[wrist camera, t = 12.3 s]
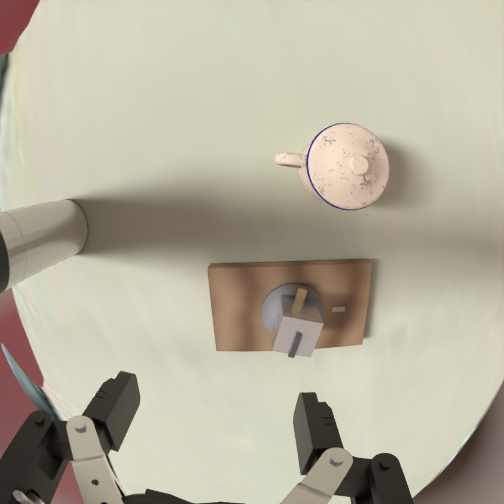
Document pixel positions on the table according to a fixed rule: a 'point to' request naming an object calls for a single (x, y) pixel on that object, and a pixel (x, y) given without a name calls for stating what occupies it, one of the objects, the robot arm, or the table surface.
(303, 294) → the white block
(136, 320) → the table surface
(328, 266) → the walnut base
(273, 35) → the table surface
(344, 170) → the teacup with lid
